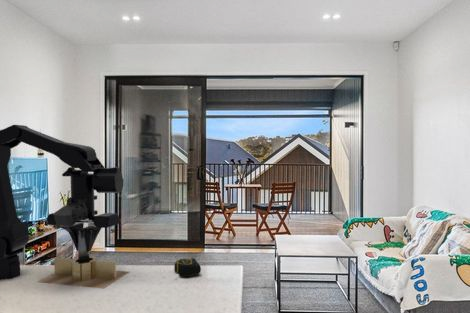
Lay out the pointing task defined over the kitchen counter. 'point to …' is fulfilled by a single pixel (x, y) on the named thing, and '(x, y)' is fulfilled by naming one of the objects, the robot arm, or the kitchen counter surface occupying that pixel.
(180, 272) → the tape measure
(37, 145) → the robot arm
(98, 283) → the walnut board
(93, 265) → the brass hinge
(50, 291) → the kitchen counter surface
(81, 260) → the hinge pin
